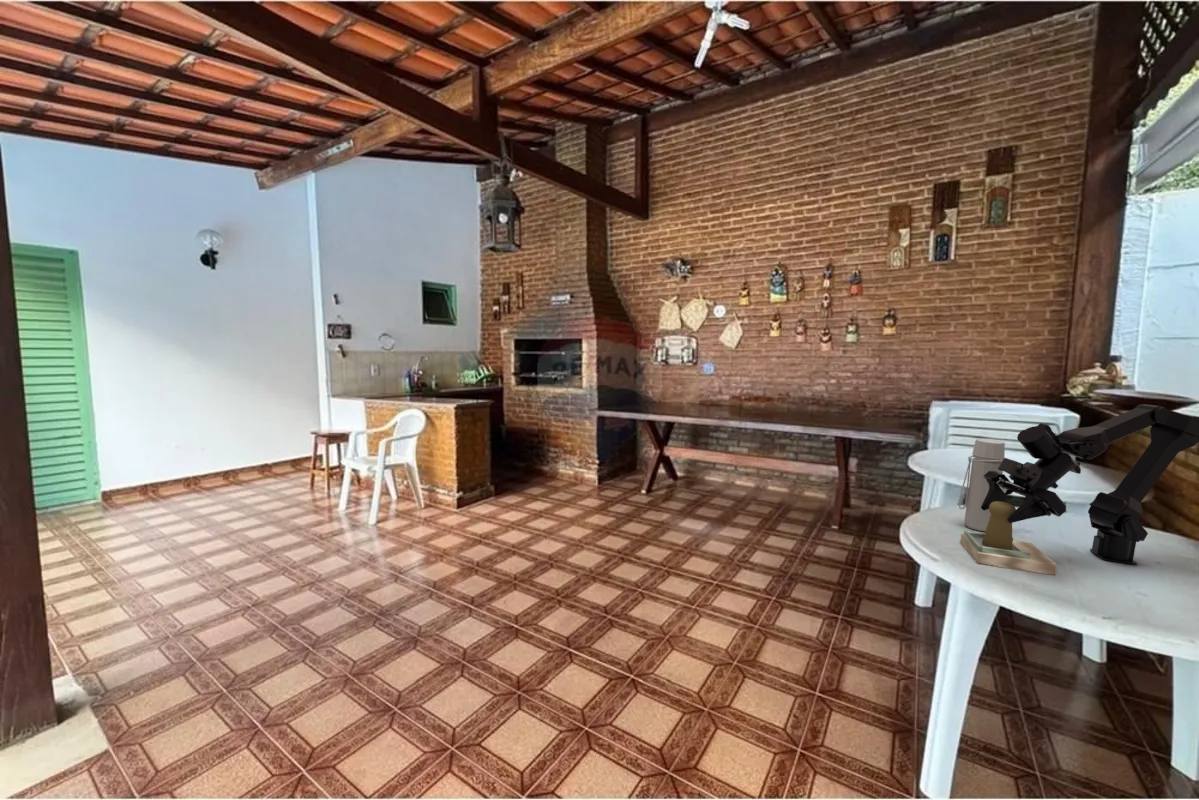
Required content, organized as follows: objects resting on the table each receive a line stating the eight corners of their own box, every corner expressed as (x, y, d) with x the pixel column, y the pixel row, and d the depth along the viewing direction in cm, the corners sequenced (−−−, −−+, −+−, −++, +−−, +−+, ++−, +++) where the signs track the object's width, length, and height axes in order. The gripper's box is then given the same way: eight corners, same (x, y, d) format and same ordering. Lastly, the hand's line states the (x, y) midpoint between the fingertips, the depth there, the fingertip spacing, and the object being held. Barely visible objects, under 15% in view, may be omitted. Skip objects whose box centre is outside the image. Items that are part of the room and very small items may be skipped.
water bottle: (989, 524, 148) (1000, 439, 144) (1000, 535, 140) (1012, 445, 137) (951, 520, 151) (962, 436, 147) (960, 529, 143) (971, 441, 140)
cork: (1015, 553, 122) (1022, 509, 121) (983, 547, 125) (990, 504, 123) (1009, 544, 127) (1016, 501, 126) (979, 539, 130) (985, 497, 129)
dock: (1029, 552, 130) (1032, 538, 129) (1055, 575, 118) (1057, 559, 117) (960, 542, 135) (961, 529, 134) (977, 563, 122) (979, 548, 122)
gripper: (995, 439, 132) (948, 480, 133) (1061, 458, 114) (1005, 505, 115) (1021, 470, 134) (974, 510, 135) (1090, 493, 115) (1035, 539, 116)
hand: (994, 515), depth 125 cm, fingers open, 8 cm apart
